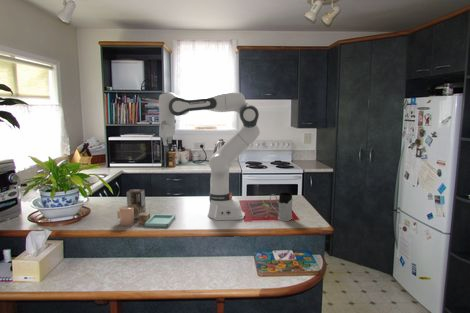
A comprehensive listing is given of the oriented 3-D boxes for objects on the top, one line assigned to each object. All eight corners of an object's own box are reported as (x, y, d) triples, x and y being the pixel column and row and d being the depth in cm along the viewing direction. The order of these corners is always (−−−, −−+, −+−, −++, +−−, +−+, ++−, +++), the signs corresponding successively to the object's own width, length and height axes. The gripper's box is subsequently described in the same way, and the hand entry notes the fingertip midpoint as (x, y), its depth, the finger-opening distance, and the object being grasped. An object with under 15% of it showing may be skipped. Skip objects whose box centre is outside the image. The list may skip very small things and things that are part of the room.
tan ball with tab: (136, 221, 188) (135, 206, 187) (131, 226, 181) (130, 210, 179) (121, 221, 189) (120, 205, 187) (115, 225, 181) (114, 209, 180)
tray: (175, 217, 195) (175, 214, 194) (168, 227, 179) (167, 223, 179) (154, 217, 196) (153, 214, 195) (144, 226, 180) (144, 223, 179)
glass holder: (290, 221, 189) (290, 196, 187) (266, 218, 195) (267, 193, 193) (294, 217, 197) (295, 193, 195) (271, 214, 203) (272, 190, 201)
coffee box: (146, 215, 199) (145, 189, 197) (142, 218, 193) (141, 192, 190) (131, 214, 200) (130, 189, 198) (127, 218, 194) (126, 191, 191)
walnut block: (150, 221, 189) (150, 212, 188) (147, 224, 184) (147, 215, 184) (142, 220, 190) (141, 212, 189) (138, 223, 185) (138, 215, 184)
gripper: (167, 121, 181) (167, 146, 183) (176, 120, 201) (177, 142, 203) (155, 121, 181) (156, 146, 183) (166, 120, 201) (167, 142, 203)
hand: (167, 144), depth 193 cm, fingers open, 8 cm apart
